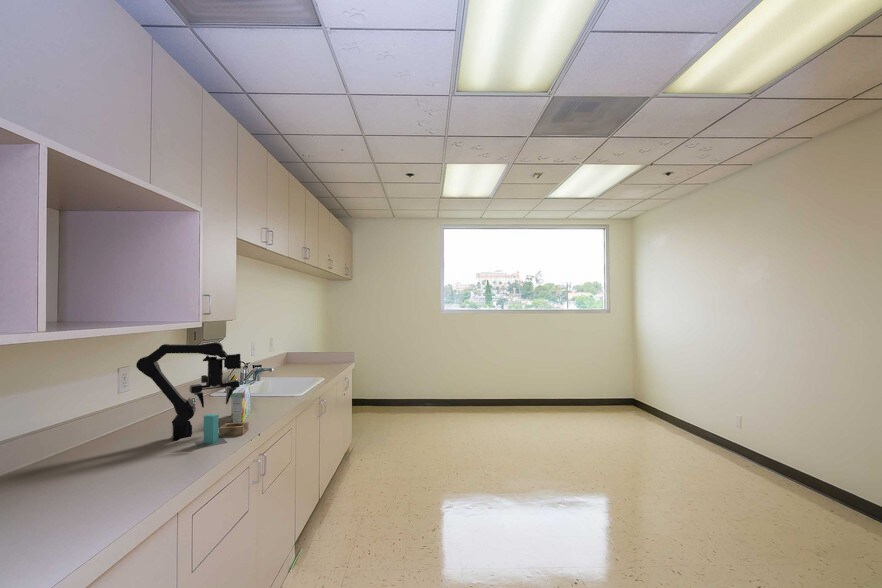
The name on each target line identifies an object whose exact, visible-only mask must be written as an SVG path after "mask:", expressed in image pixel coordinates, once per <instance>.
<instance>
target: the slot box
mask: <svg viewBox="0 0 882 588" xmlns="http://www.w3.org/2000/svg"><path fill="white" fill-rule="evenodd" d="M249 423H250V422H249V421H243V422H241V423H231V422H228V423H227V422H226V423H224V424H223V425H221V426H220V427H218V437H235V436H243V435H245V434H246V433H247V432H248V431H249Z"/></svg>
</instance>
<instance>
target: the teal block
mask: <svg viewBox="0 0 882 588" xmlns="http://www.w3.org/2000/svg"><path fill="white" fill-rule="evenodd" d="M219 416H220V415H219V414H214V413H213V414H212V413H208V414H205V415H203V440H204V443H209V444H214V443H217V442H218V437H219V419H220V417H219Z"/></svg>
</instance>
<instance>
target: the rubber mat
mask: <svg viewBox="0 0 882 588" xmlns="http://www.w3.org/2000/svg"><path fill="white" fill-rule="evenodd" d="M227 443H228V442H227V440H226V439H225V438H224V436H221V437H219V436H218V442H217V443H214V444H209V443H204V439H203V440H199V441H195V442H194V444H195V445H196V447H197V448H198V449H205V448H209V447H214V446H219V445H223V444H227Z"/></svg>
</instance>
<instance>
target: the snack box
mask: <svg viewBox="0 0 882 588" xmlns="http://www.w3.org/2000/svg"><path fill="white" fill-rule="evenodd" d="M230 403H231V404H230V406H231V409H230V411H231V412H230V413H231V414H230V415H231V416H230V419H231V422H230V423H242V422H245V421H244V420H246V419H247V418H246V417H248V416H249V415H250V413H251V412H252V411H251V384H249V383H248V384H247V383H246V384H240V387H237V388H236V390H234V391H233V393H232V394H231V396H230Z"/></svg>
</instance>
